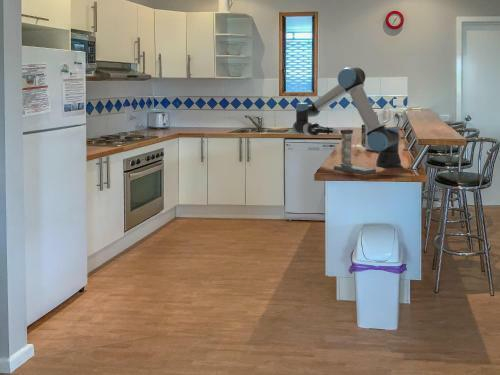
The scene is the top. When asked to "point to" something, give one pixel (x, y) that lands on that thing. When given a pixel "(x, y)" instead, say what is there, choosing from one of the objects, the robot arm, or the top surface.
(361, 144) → the coffee box
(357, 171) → the fader console
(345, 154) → the lever
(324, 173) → the top surface
